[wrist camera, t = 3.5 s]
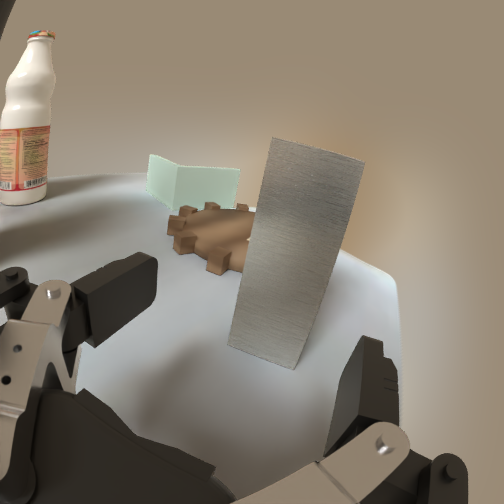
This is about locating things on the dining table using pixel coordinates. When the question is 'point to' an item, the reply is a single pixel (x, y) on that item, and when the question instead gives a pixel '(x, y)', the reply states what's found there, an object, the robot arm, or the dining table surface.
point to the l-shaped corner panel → (190, 184)
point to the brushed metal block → (292, 248)
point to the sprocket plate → (213, 235)
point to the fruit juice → (27, 124)
